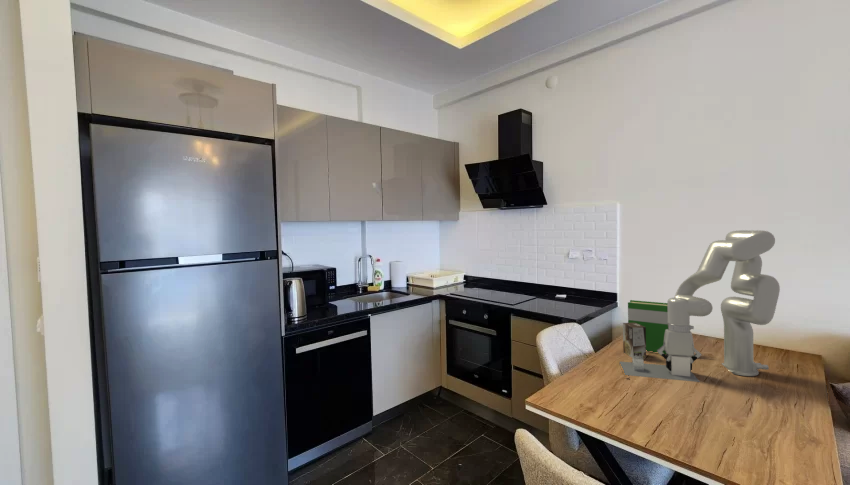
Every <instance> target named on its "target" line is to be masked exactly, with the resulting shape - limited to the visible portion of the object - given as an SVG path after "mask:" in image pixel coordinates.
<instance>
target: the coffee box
mask: <svg viewBox="0 0 850 485" xmlns="http://www.w3.org/2000/svg"><path fill="white" fill-rule="evenodd" d="M622 343H623V349H622V350H623V354H624V353H625V354H626V355H627V356H629V357H630V358H632V356H638V357H642V358H643V359H647V352H646V327H644V326H642V325H640V324H637V323H628V322H622ZM625 354H624V355H625Z"/></svg>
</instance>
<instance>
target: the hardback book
mask: <svg viewBox="0 0 850 485" xmlns="http://www.w3.org/2000/svg"><path fill="white" fill-rule="evenodd" d="M627 323H637V324H640V325H642V326H644V327H646V350H647V351H653V352H657V350H658V349H659V348H660V347H662V346H663V343H664V334H665V330H666V329H668V310H667V302H660V301H659V302H658V301H657V302H656V301H646V300H645V301H644V300H632V299H630V300H629V302H627ZM653 352H652V353H653ZM662 352H663V353H664V354H667V353H666V351H664V350H663V351H662Z"/></svg>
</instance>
